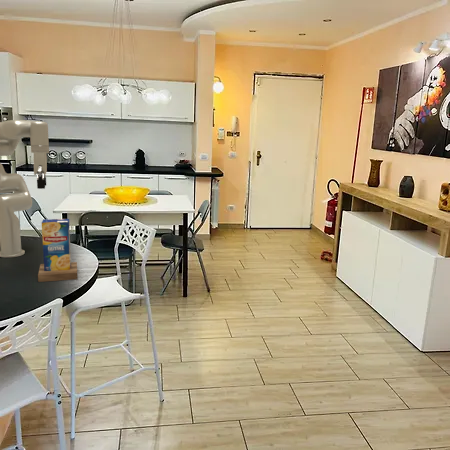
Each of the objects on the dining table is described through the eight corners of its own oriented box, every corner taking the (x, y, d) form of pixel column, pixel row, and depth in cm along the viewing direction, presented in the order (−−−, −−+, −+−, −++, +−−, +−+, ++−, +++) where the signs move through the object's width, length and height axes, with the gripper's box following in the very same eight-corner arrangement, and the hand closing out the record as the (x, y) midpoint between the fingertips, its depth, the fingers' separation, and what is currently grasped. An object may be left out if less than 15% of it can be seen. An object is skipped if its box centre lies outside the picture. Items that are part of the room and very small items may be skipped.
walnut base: (40, 270, 204) (40, 264, 203) (77, 268, 209) (76, 262, 208) (38, 281, 189) (37, 275, 188) (77, 279, 194) (77, 272, 193)
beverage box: (70, 269, 197) (68, 222, 192) (44, 271, 194) (41, 222, 189) (71, 265, 203) (69, 218, 198) (45, 266, 200) (43, 219, 196)
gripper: (32, 148, 205) (34, 184, 208) (29, 150, 189) (31, 189, 192) (49, 148, 207) (51, 184, 211) (47, 150, 191) (49, 189, 195)
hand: (42, 187), depth 202 cm, fingers open, 9 cm apart
